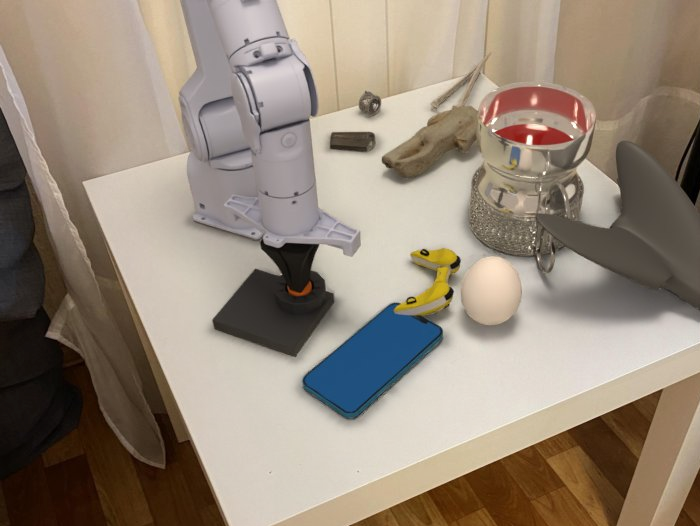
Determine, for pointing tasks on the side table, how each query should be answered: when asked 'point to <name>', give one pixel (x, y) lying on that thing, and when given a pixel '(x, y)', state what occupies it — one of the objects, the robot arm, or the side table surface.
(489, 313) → the egg
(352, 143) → the block
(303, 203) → the robot arm
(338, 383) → the smartphone
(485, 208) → the silver candle holder
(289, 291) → the button
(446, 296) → the yellow curved piece
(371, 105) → the decorative ring
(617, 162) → the propeller
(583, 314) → the side table surface
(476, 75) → the tweezers
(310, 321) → the push button box
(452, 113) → the sculpture
